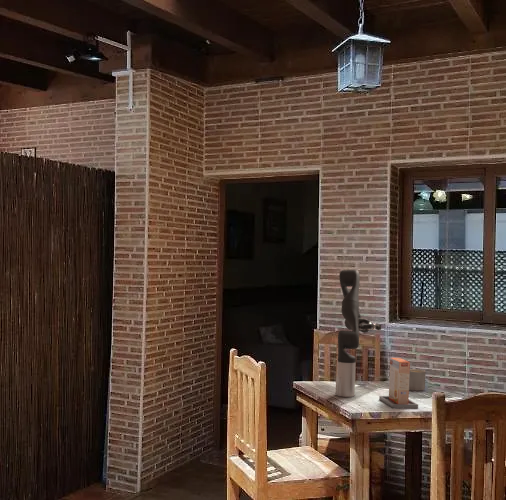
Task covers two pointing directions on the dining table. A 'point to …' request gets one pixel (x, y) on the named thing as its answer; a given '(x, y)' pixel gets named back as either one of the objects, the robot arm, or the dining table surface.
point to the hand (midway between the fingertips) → (371, 328)
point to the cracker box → (399, 380)
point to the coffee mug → (417, 379)
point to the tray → (394, 405)
